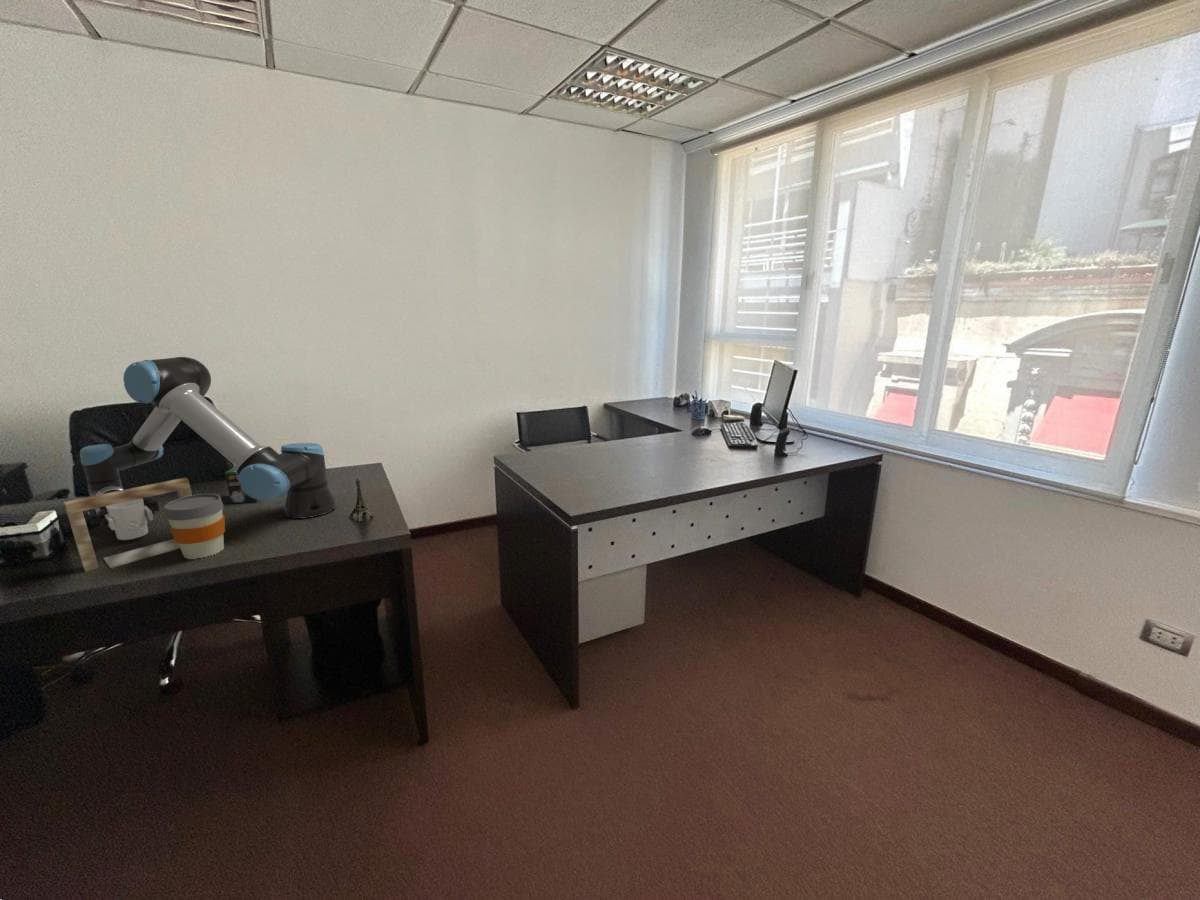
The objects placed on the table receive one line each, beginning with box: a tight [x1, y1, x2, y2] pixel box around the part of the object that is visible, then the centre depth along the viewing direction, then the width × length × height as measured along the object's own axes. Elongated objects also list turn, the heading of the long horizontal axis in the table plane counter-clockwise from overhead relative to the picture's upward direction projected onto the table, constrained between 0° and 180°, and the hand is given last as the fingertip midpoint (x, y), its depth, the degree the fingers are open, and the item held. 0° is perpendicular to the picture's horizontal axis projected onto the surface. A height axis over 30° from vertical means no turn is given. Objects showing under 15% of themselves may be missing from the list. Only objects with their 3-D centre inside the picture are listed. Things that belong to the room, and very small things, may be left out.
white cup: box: [106, 499, 149, 541], centre depth 145 cm, size 8×8×10 cm
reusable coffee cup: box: [164, 493, 226, 560], centre depth 138 cm, size 13×12×15 cm
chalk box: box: [224, 466, 261, 504], centre depth 176 cm, size 9×9×15 cm
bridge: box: [63, 477, 193, 572], centre depth 136 cm, size 24×8×18 cm, turn 142°
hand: (132, 520), depth 141 cm, fingers closed on white cup, 7 cm apart
